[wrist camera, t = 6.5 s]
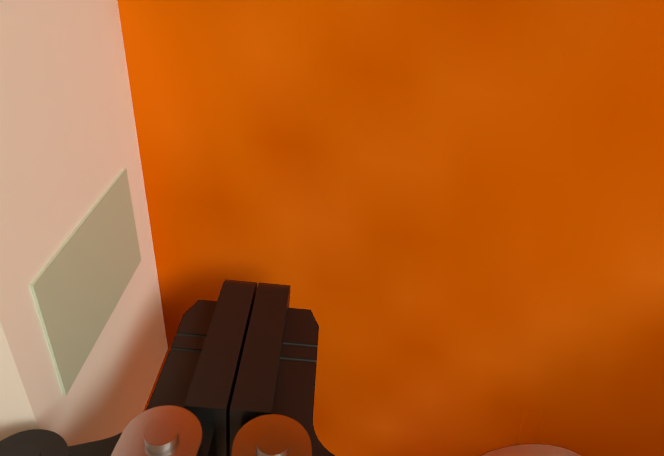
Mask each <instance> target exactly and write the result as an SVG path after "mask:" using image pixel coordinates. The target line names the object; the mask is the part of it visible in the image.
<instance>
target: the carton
mask: <svg viewBox="0 0 664 456" xmlns="http://www.w3.org/2000/svg"><path fill="white" fill-rule="evenodd" d="M167 349H168V345H167V338H166V331H165V324H164V317H163V310H162V304H161V297H160V290H159V283H158V276H157V269H156V263H155V256H154V249H153V242H152V235H151V228H150V222H149V215H148V208H147V201H146V194H145V187H144V181H143V174H142V167H141V160H140V153H139V146H138V140H137V133H136V126H135V119H134V112H133V105H132V98H131V92H130V85H129V78H128V71H127V64H126V57H125V51H124V44H123V37H122V30H121V23H120V16H119V10H118V3H117V0H0V441H1V440H3V439H5V438H7V437H9V436H11V435H13V434H16V433H18V432H22V431H26V430H32V429H44V430H49V431H53V432H55V433H57V434H59V435H60V436H61V437H62V438H63V439H64V440H65V441H66V443H67V446H73V445H78V444H83V443H88V442H93V441H98V440H102V439H106V438H110V437H112V436H115V435H117V434H119V433H121V432H123V431H124V429H125V427H126V426H127V425H128V424H129V422H130V421H131V420H132V419H134V418H135V417H136V416H137V415H139V414H140V413H142V412H143V411H144V408H145V406H146V403H147V401H148V398H149V396H150V393H151V390H152V388H153V385H154V383H155V380H156V378H157V375H158V373H159V370H160V367H161V365H162V362H163V360H164V357H165V355H166V352H167Z"/></svg>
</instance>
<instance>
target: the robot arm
mask: <svg viewBox="0 0 664 456" xmlns="http://www.w3.org/2000/svg"><path fill="white" fill-rule="evenodd" d="M289 301H290V285H279V284H268V283H259V284H258V288H257V283H256V282H245V281H234V280H225V281H224V283H223V286H222V289H221V292H220V295H219V298H218V301H217V302H216V301H205V300H198V301H197V302H196V303H195V304H194V305H193V306H192V307H191V308H190V309H189V310H188V311H187V312H186V313H185V314H184V315H183V317H182V320H181V323H180V325H179V328H178V330H177V335H176V336H175V338H174V341H173V343H172V346H171V351H169V353H168V356H167V359H166V361H165V364H164V366H163V369H162V371H161V374H160V377H159V379H158V382H157V384H156V387H155V390H154V392H153V395H152V397H151V400H150V402H149V405H148V407H147V409H146V411H144V412H142V413H140V414H139V415H137V416H136V417H135V418H134V419H132V420H131V421H130V422H129V424H128V425H127V426H126V427H125V429H124V431H123V432H121V433H119V434H117V435H115V436H112V437H110V438H106V439H102V440H98V441H93V442H88V443H83V444H78V445H73V446H67V443H66V441H65V440H64V439H63V438H62V437H61V436H60V435H59V434H57V433H55V432H53V431H49V430H44V429H32V430H26V431H22V432H18V433H16V434H13V435H11V436H9V437H7V438H5V439H3V440H1V441H0V456H335V455H333V454H332V453H330V452H329V451H328V450H327V449H326V448H324V446H323V445H322V444H321V443H320V441H319V440H318V438H317V436H316V434H315V431H314V427H313V406H314V391H315V376H316V360H317V346H318V331H319V326H318V324H317V322H316V320H315V318H314V316H313V314H312V312H311V310H306V309H295V308H289Z"/></svg>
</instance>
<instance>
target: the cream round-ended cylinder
mask: <svg viewBox="0 0 664 456" xmlns="http://www.w3.org/2000/svg"><path fill="white" fill-rule="evenodd" d="M481 456H581V455H579V454H577V453H575V452H573V451H571V450H568V449H565V448H562V447H557V446H552V445H545V444H523V445H514V446H509V447H504V448H500V449H497V450H493V451H491V452H488V453H485V454H483V455H481Z"/></svg>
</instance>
